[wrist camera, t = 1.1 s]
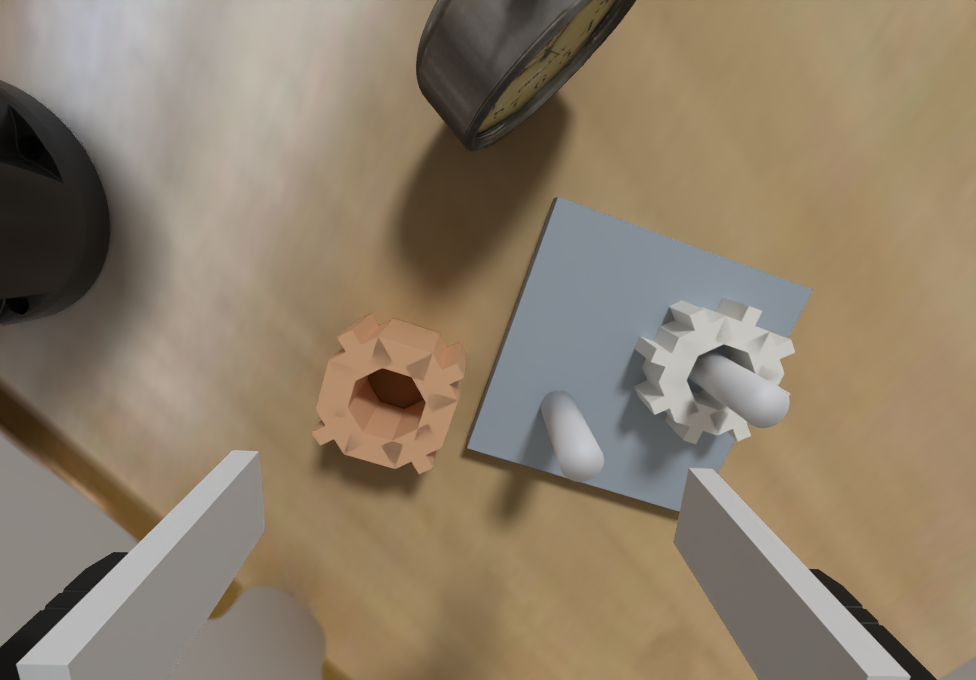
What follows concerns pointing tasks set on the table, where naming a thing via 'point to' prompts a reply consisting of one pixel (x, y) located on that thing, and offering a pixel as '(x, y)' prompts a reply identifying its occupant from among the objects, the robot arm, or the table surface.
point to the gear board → (634, 358)
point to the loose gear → (379, 425)
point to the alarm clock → (506, 58)
